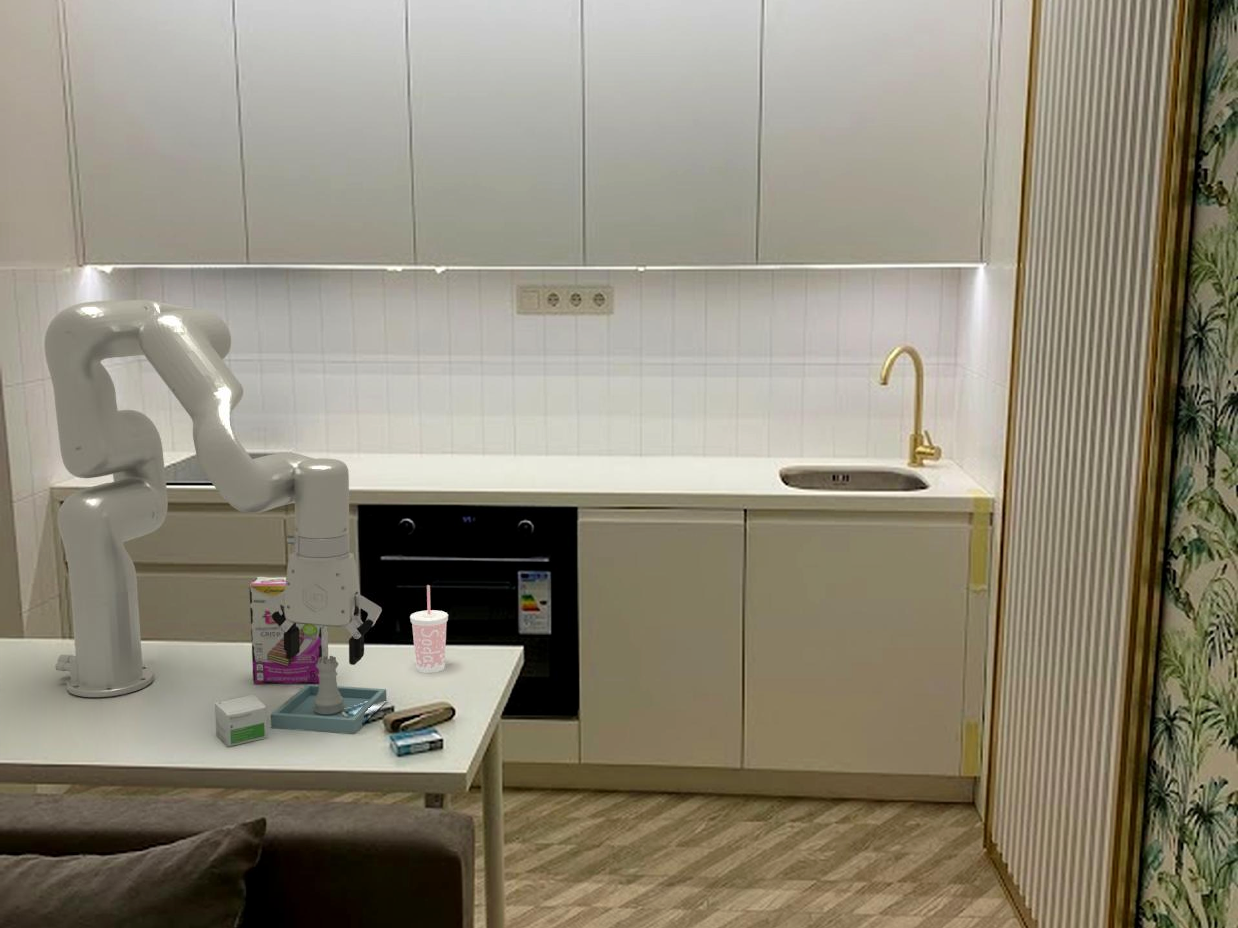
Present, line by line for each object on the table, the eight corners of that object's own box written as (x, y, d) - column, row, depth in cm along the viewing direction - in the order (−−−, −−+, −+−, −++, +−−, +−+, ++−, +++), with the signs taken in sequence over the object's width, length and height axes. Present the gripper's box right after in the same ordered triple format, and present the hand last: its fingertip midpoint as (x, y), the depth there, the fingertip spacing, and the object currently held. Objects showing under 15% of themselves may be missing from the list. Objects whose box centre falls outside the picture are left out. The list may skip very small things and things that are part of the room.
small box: (228, 748, 164) (226, 714, 163) (215, 734, 169) (213, 701, 168) (269, 738, 167) (267, 705, 166) (255, 725, 172) (253, 693, 171)
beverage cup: (405, 672, 194) (403, 589, 191) (419, 660, 200) (417, 579, 197) (441, 675, 192) (439, 591, 190) (454, 663, 198) (452, 581, 196)
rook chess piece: (328, 702, 179) (326, 651, 177) (351, 708, 177) (349, 656, 175) (306, 712, 175) (304, 660, 174) (329, 718, 173) (327, 665, 171)
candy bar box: (252, 685, 188) (247, 584, 185) (260, 674, 193) (255, 575, 190) (324, 684, 188) (320, 583, 185) (330, 674, 193) (326, 575, 190)
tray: (271, 727, 171) (270, 714, 170) (308, 696, 183) (307, 684, 183) (354, 733, 169) (354, 720, 168) (386, 701, 181) (386, 689, 181)
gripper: (254, 547, 169) (256, 662, 172) (370, 555, 167) (371, 672, 170) (277, 535, 177) (279, 645, 180) (389, 543, 174) (389, 655, 177)
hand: (324, 658), depth 175 cm, fingers open, 9 cm apart
